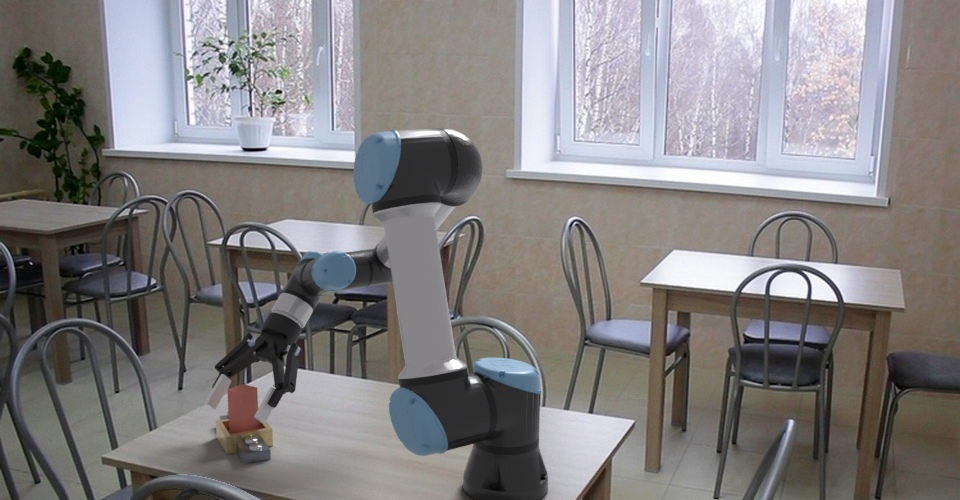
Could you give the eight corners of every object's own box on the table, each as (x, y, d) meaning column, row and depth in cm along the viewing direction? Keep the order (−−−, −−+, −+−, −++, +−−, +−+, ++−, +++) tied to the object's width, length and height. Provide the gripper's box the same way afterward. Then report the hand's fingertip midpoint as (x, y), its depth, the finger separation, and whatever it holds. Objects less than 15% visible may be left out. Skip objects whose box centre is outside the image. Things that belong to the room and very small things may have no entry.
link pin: (259, 440, 194) (257, 387, 192) (244, 447, 191) (242, 393, 189) (244, 436, 196) (242, 383, 194) (229, 442, 193) (227, 389, 191)
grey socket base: (281, 457, 186) (280, 440, 185) (233, 466, 182) (233, 448, 181) (253, 419, 205) (253, 403, 204) (210, 426, 201) (209, 410, 200)
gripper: (342, 340, 195) (291, 435, 186) (253, 320, 209) (201, 408, 200) (323, 320, 190) (269, 417, 181) (233, 301, 203) (179, 391, 194)
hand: (233, 413), depth 190 cm, fingers open, 13 cm apart
